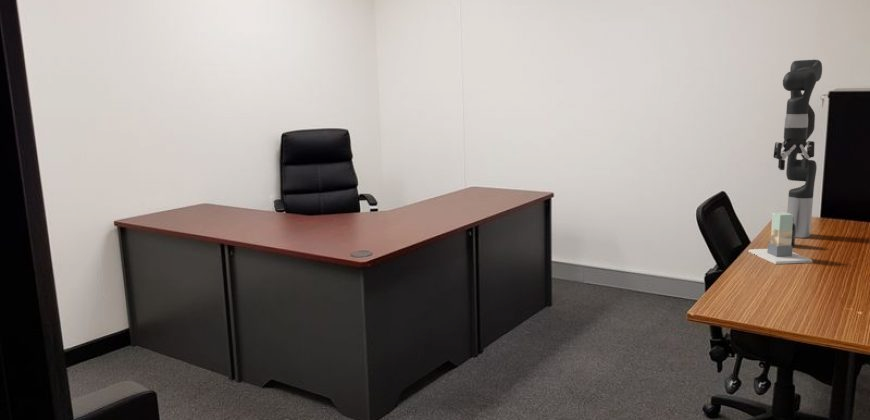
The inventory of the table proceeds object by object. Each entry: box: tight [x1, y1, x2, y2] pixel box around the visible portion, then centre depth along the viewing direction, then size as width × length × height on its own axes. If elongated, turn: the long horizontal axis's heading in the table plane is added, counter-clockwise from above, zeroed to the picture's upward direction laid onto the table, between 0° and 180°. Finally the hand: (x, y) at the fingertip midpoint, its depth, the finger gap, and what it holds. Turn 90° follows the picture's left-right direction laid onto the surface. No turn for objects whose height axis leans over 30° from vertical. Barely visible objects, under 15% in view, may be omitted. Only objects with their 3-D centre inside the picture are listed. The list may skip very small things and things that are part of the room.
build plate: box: [748, 242, 813, 265], centre depth 236 cm, size 18×14×5 cm
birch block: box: [770, 228, 792, 246], centre depth 235 cm, size 5×5×6 cm
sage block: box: [770, 211, 793, 231], centre depth 234 cm, size 5×5×6 cm
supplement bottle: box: [791, 217, 796, 247], centre depth 253 cm, size 7×7×12 cm
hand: (792, 169), depth 233 cm, fingers open, 8 cm apart
